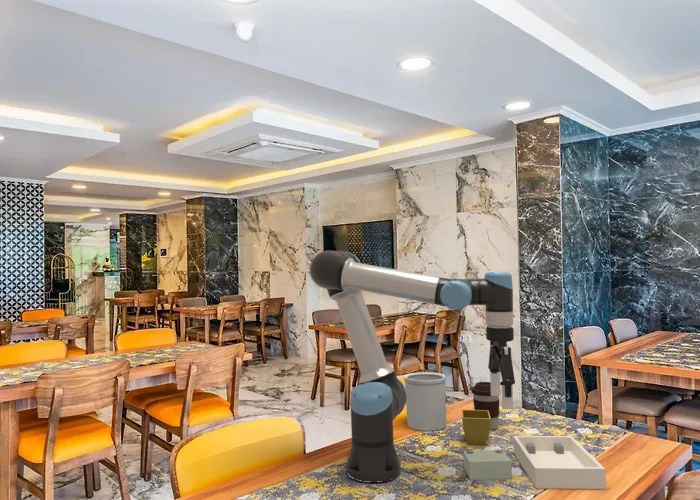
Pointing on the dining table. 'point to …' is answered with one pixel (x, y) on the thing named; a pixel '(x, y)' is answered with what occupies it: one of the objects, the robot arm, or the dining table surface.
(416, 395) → the utensil holder
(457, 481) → the dining table surface
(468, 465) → the dotted green block
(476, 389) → the coffee cup
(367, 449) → the robot arm
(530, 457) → the tray
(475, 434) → the flower pot
